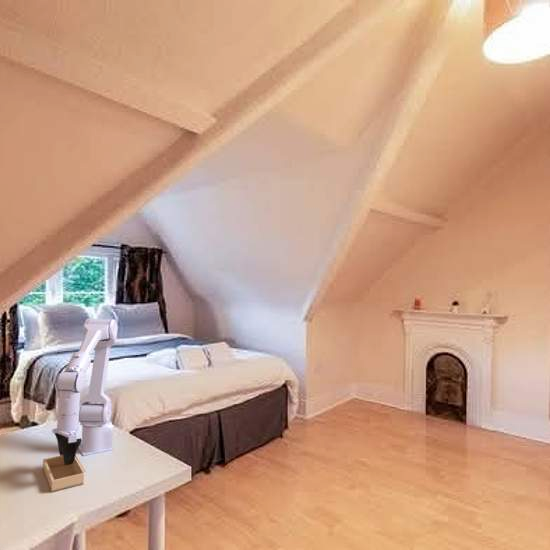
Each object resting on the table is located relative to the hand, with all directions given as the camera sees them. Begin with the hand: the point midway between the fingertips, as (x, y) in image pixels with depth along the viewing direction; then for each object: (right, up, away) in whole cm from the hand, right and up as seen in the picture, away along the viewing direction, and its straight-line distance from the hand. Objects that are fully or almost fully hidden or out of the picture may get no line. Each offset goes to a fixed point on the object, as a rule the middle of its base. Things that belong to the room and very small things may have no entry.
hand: (66, 459), depth 123 cm
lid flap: (+2, 0, +2) cm, 2 cm away
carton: (-1, -5, 0) cm, 5 cm away
